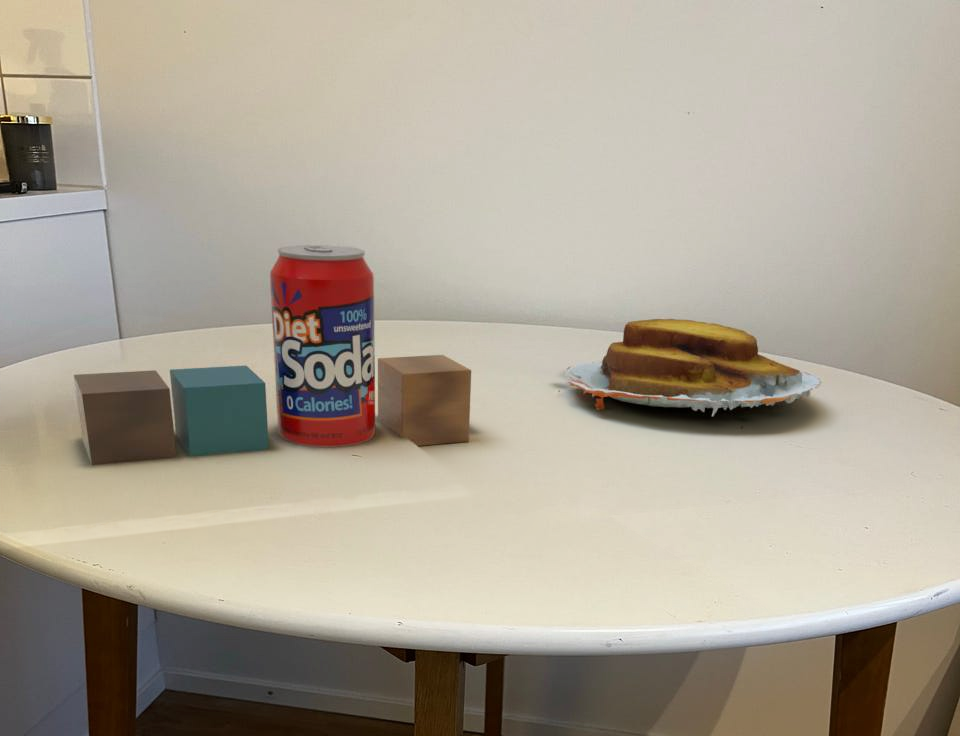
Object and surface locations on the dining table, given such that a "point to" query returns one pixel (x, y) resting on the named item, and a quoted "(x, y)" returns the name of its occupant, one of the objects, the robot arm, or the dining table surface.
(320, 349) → the soda can
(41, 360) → the dining table surface
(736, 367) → the food on plate
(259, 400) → the teal block
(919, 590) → the dining table surface
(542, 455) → the dining table surface
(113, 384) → the walnut block
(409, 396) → the oak block
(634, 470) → the dining table surface
